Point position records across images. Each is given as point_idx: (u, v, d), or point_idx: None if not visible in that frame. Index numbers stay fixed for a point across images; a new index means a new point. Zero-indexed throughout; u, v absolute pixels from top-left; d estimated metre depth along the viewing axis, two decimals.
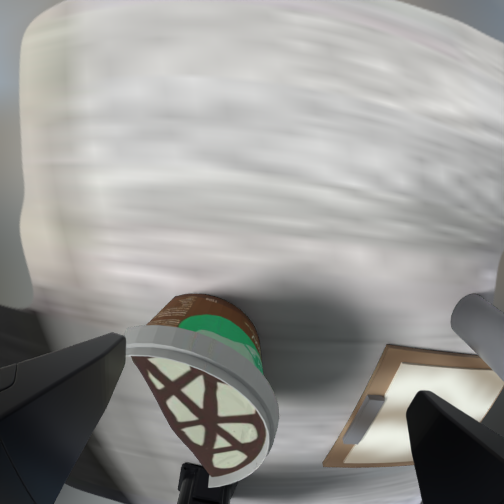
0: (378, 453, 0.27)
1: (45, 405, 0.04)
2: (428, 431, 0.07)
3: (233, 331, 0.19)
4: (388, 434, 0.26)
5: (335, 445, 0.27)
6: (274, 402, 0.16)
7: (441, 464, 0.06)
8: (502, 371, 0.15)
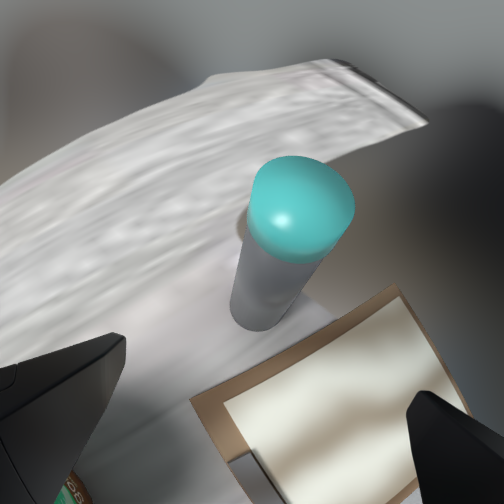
0: None
1: (45, 405, 0.04)
2: (428, 431, 0.07)
3: None
4: (325, 482, 0.17)
5: None
6: None
7: (441, 464, 0.06)
8: (260, 278, 0.15)
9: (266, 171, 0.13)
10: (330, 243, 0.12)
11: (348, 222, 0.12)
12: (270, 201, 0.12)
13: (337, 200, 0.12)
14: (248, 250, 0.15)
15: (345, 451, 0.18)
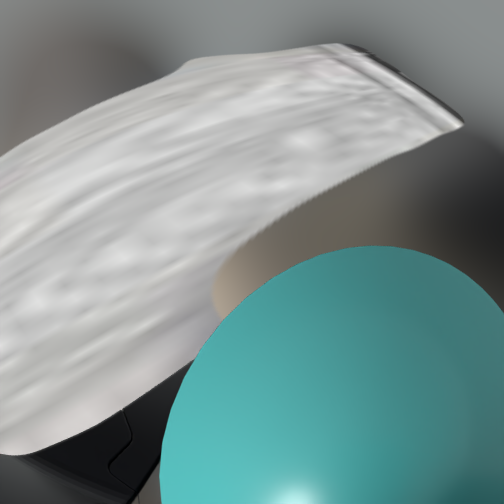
0: None
1: None
2: None
3: None
4: None
5: None
6: None
7: None
8: None
9: (234, 366, 0.02)
10: None
11: None
12: None
13: (503, 440, 0.02)
14: None
15: None
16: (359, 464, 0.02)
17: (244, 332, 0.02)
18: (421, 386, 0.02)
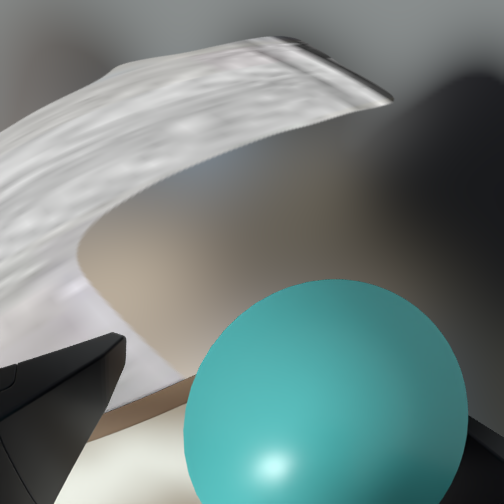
0: None
1: (45, 405, 0.04)
2: None
3: None
4: None
5: None
6: None
7: None
8: None
9: (230, 359, 0.04)
10: None
11: (448, 481, 0.03)
12: (239, 482, 0.03)
13: (433, 424, 0.03)
14: None
15: None
16: (312, 426, 0.03)
17: (237, 338, 0.04)
18: (358, 377, 0.04)
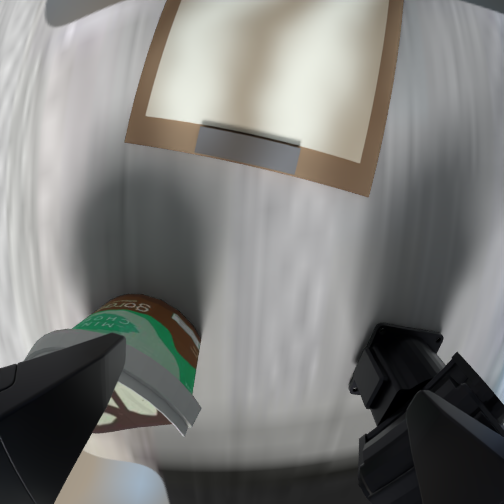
0: (344, 103, 0.17)
1: (45, 405, 0.04)
2: (428, 431, 0.07)
3: None
4: (293, 95, 0.17)
5: (314, 181, 0.19)
6: (54, 335, 0.14)
7: (441, 464, 0.06)
8: None
9: None
10: None
11: None
12: None
13: None
14: None
15: (283, 57, 0.17)
16: None
17: None
18: None
